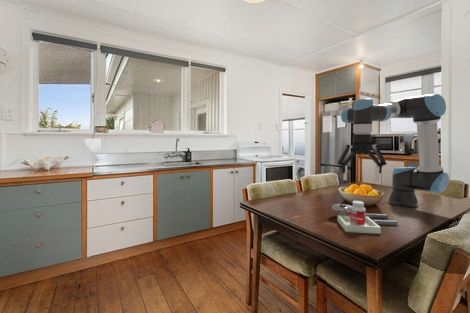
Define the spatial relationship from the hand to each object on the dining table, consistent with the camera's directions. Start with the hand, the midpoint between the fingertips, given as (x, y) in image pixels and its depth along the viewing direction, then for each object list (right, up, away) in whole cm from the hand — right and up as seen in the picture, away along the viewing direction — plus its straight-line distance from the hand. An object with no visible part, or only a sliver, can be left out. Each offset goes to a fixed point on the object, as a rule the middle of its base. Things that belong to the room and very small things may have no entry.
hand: (360, 180), depth 109 cm
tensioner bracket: (+14, -21, +8) cm, 26 cm away
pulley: (-2, -21, +14) cm, 25 cm away
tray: (-1, -22, 0) cm, 22 cm away
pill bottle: (-1, -21, 0) cm, 21 cm away
